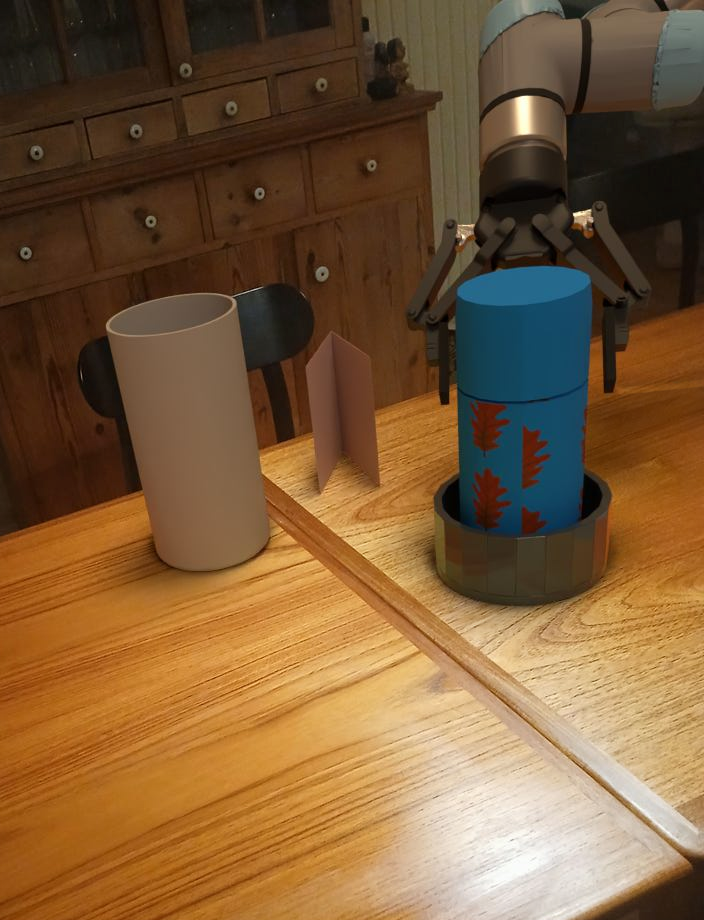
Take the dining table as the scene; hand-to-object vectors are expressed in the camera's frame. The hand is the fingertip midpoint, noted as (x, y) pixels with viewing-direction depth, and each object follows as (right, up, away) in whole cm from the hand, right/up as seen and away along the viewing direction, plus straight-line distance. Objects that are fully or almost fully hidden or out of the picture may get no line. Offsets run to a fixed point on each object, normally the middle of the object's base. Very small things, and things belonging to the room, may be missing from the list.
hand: (525, 393), depth 84 cm
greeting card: (-10, -2, +32) cm, 33 cm away
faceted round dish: (+2, -14, +10) cm, 17 cm away
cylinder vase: (-27, -11, +22) cm, 37 cm away
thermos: (+2, -13, +9) cm, 16 cm away
